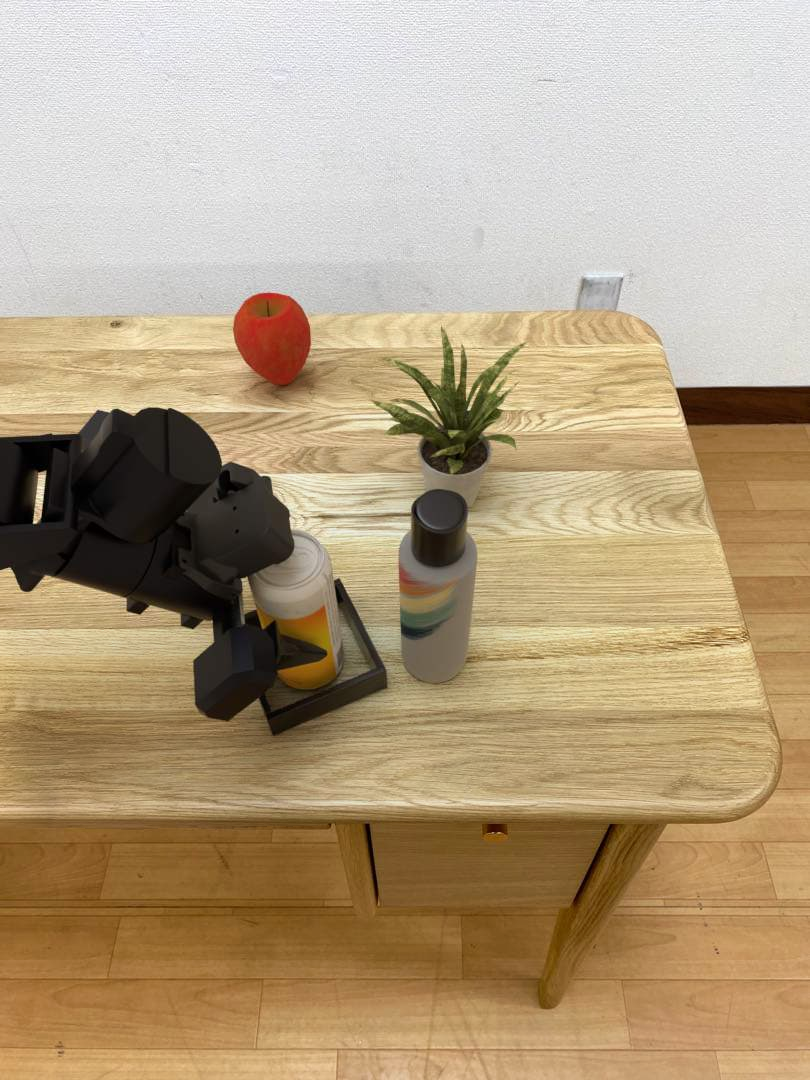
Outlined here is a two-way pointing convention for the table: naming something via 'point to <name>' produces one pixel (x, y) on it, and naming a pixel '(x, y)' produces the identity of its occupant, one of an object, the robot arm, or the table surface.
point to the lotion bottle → (436, 586)
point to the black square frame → (335, 694)
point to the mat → (92, 427)
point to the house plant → (453, 423)
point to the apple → (273, 336)
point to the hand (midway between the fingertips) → (317, 614)
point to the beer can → (302, 608)
